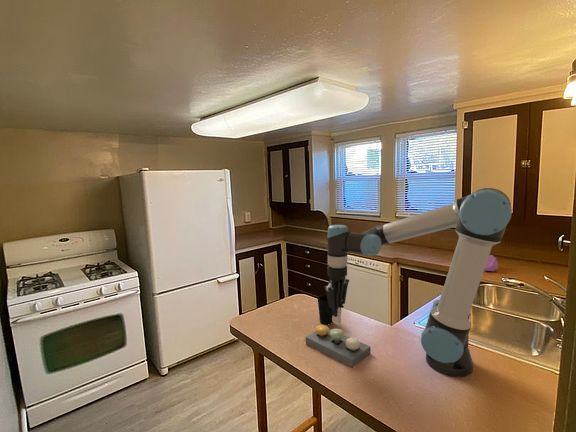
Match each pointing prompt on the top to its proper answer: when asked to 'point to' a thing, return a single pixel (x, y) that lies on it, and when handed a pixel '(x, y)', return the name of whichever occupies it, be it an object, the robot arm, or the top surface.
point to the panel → (338, 348)
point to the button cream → (352, 344)
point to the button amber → (322, 330)
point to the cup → (324, 310)
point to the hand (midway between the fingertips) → (336, 323)
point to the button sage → (336, 335)
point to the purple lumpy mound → (491, 264)
